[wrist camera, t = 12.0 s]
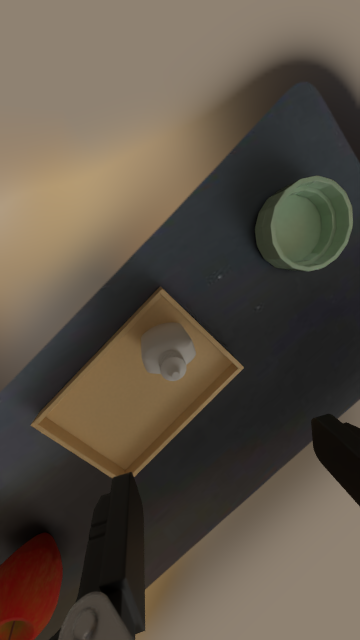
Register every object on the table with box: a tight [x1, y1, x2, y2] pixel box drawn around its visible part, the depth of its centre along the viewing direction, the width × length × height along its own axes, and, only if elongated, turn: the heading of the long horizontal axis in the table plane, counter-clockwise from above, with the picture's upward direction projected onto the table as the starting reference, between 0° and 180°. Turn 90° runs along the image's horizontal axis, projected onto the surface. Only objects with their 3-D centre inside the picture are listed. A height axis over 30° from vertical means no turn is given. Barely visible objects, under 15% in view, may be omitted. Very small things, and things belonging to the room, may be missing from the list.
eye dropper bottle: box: [141, 322, 196, 381], centre depth 27 cm, size 4×6×12 cm
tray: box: [31, 286, 244, 478], centre depth 34 cm, size 23×15×3 cm, turn 135°
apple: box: [0, 533, 63, 640], centre depth 33 cm, size 9×8×11 cm
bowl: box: [255, 176, 353, 271], centre depth 31 cm, size 10×10×4 cm
